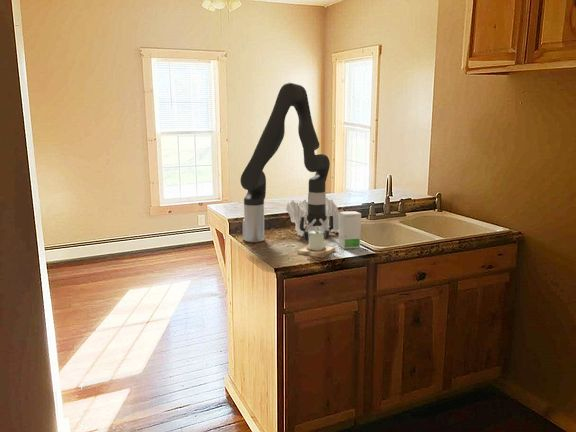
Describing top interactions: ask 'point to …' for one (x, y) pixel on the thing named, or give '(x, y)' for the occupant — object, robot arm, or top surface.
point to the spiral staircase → (302, 210)
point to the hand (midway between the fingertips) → (316, 239)
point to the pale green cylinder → (316, 240)
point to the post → (316, 251)
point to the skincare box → (349, 229)
